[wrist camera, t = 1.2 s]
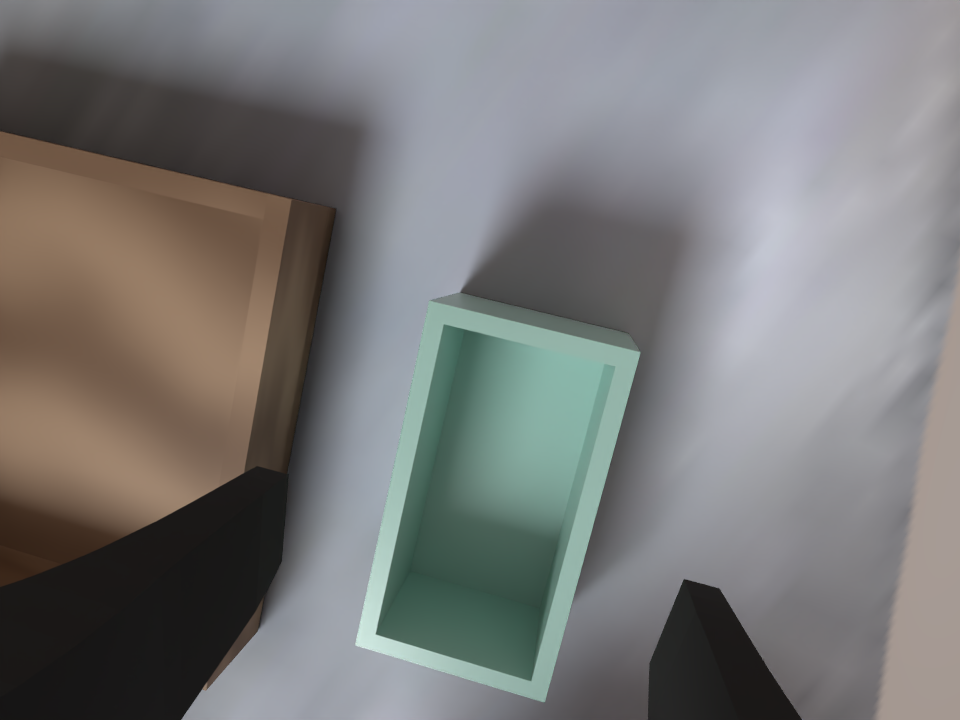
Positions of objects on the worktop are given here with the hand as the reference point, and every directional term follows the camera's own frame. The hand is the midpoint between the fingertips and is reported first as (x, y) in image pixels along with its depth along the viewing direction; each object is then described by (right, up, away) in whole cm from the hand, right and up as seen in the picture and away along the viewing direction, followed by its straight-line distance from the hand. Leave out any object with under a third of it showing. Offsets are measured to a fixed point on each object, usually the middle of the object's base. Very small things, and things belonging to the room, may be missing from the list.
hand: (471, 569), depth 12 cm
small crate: (+1, 0, +10) cm, 10 cm away
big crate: (-13, +3, +12) cm, 18 cm away
